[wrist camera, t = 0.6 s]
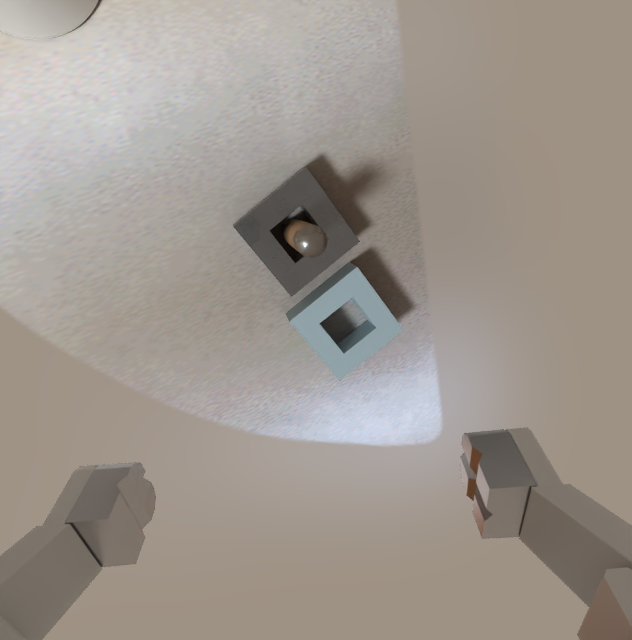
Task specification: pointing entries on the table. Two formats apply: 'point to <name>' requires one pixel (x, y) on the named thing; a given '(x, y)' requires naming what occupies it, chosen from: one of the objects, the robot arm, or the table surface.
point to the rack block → (362, 339)
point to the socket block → (278, 207)
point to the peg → (305, 237)
